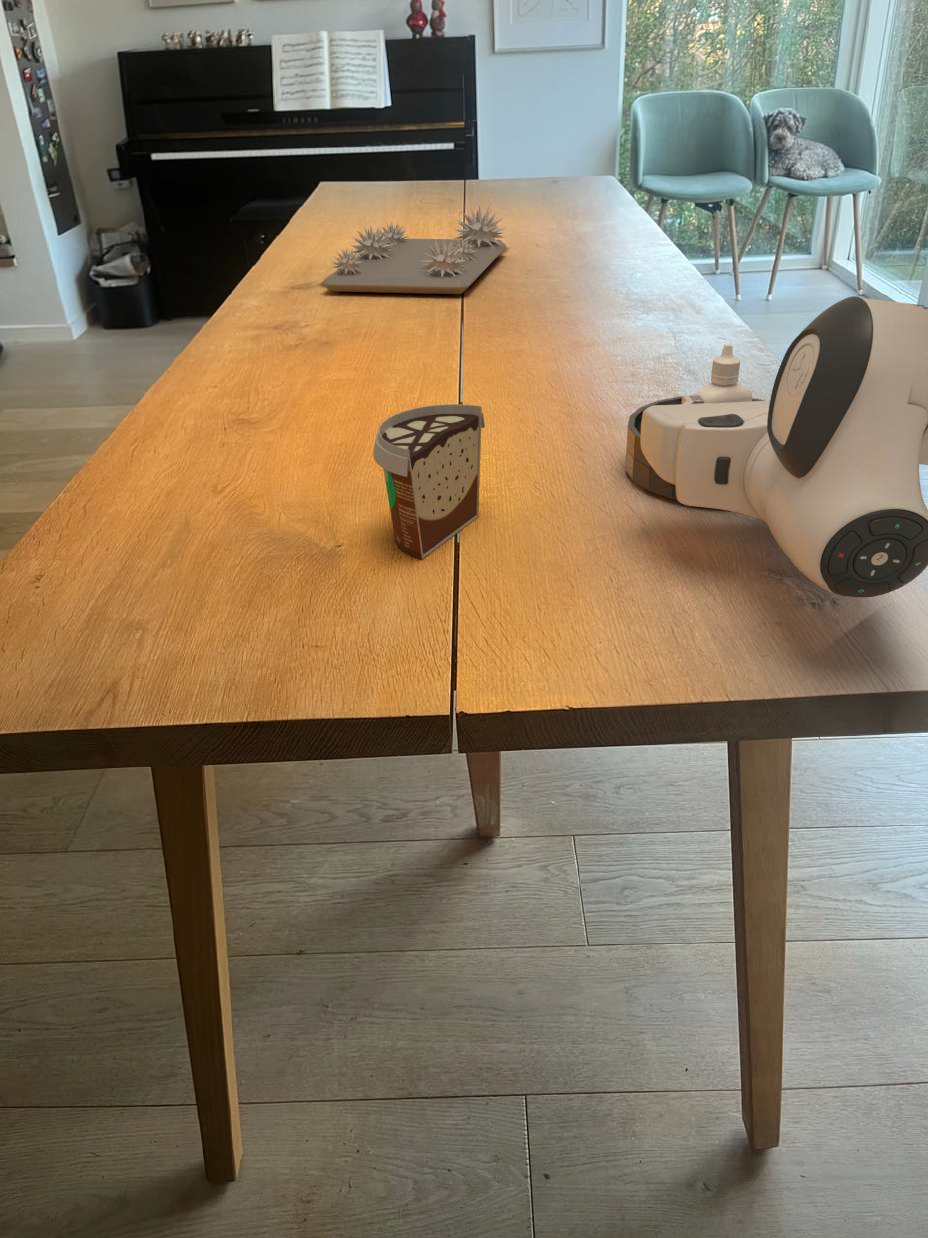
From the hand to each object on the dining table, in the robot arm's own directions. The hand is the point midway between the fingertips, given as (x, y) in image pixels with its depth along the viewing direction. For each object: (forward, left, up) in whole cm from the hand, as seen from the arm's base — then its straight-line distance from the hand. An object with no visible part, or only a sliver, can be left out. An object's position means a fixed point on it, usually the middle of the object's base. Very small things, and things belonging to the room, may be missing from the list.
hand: (743, 401), depth 86 cm
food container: (+15, +24, -9) cm, 30 cm away
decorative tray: (+95, -44, -9) cm, 105 cm away
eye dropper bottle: (+4, -4, -9) cm, 10 cm away
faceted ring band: (+4, -4, -9) cm, 11 cm away
